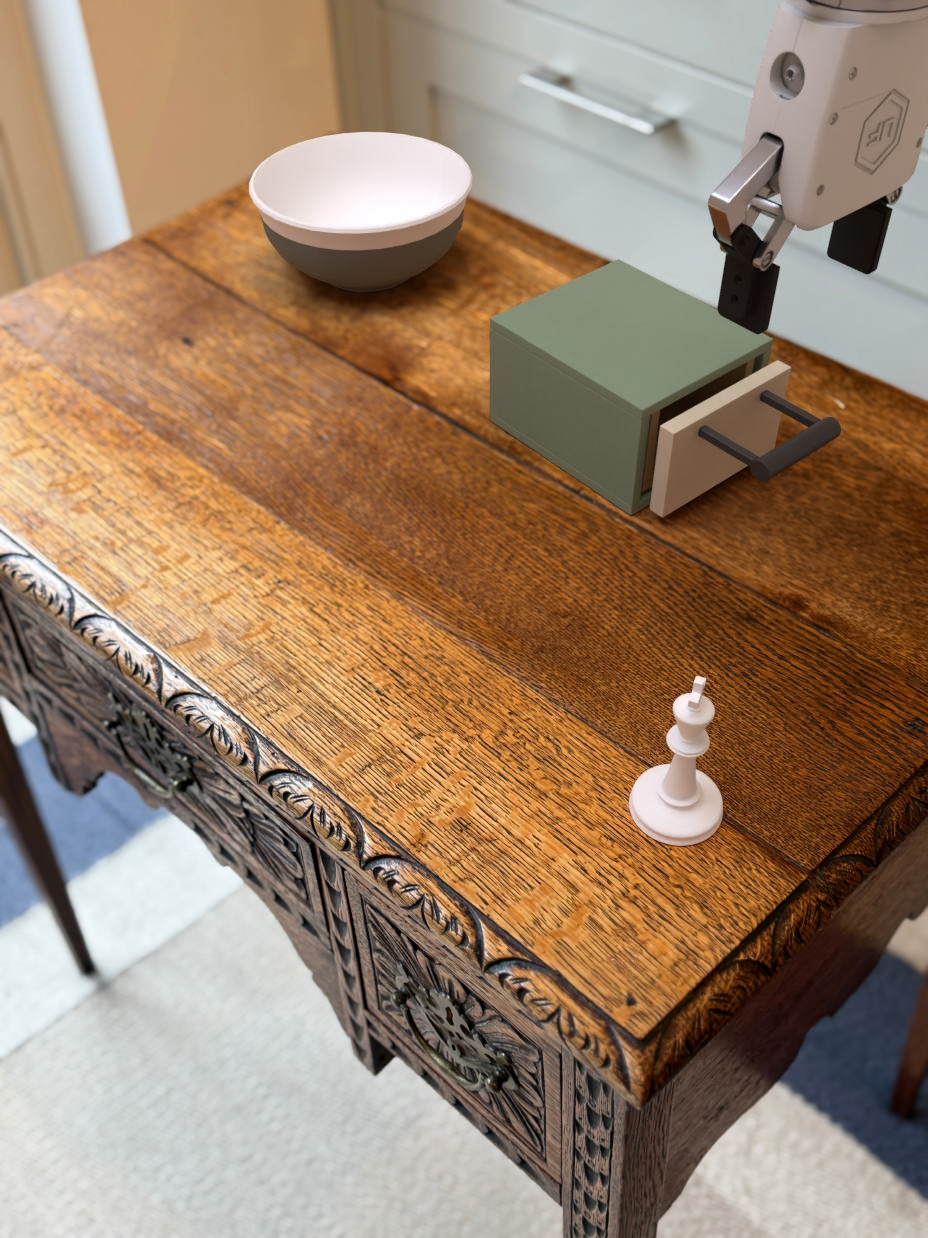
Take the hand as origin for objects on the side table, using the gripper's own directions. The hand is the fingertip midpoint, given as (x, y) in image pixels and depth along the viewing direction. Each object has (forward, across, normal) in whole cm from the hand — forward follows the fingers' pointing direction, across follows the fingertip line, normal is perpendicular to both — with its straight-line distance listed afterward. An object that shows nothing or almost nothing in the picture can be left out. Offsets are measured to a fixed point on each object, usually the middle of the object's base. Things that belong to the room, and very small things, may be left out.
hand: (797, 292), depth 67 cm
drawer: (+16, 0, +7) cm, 17 cm away
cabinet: (+17, 0, +13) cm, 21 cm away
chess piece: (+17, -22, -13) cm, 30 cm away
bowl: (+17, +1, +44) cm, 48 cm away
